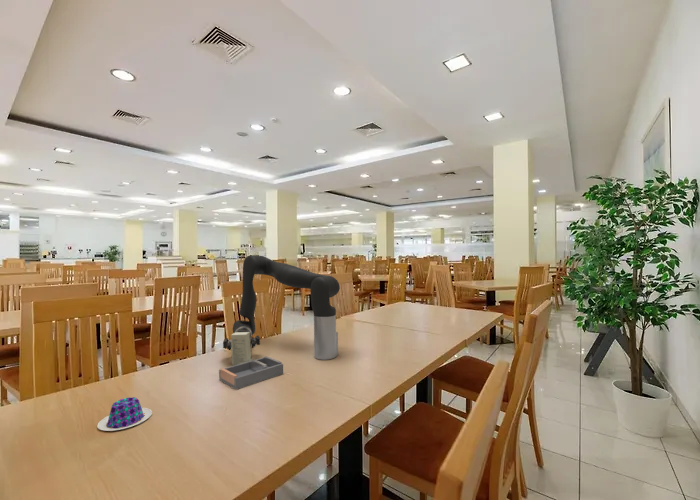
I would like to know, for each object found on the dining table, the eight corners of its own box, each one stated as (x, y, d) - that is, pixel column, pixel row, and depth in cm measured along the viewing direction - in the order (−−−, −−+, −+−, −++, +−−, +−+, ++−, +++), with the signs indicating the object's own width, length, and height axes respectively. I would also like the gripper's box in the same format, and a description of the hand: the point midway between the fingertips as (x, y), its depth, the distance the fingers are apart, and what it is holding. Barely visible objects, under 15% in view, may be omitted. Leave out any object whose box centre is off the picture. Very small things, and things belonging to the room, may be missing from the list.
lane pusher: (253, 367, 122) (253, 358, 122) (266, 373, 115) (266, 364, 115) (250, 368, 121) (250, 359, 121) (263, 374, 114) (263, 365, 114)
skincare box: (251, 362, 131) (251, 331, 131) (247, 366, 127) (246, 334, 127) (236, 362, 132) (235, 331, 132) (231, 366, 128) (230, 334, 128)
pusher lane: (265, 366, 127) (264, 355, 127) (283, 373, 118) (283, 362, 118) (219, 379, 114) (219, 368, 114) (236, 389, 105) (235, 377, 105)
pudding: (137, 406, 96) (136, 388, 96) (161, 416, 90) (161, 397, 90) (88, 426, 85) (87, 405, 85) (111, 438, 79) (111, 416, 79)
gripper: (225, 329, 143) (221, 338, 127) (259, 326, 147) (259, 335, 131) (225, 346, 143) (222, 358, 127) (259, 343, 147) (260, 354, 131)
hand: (241, 346), depth 129 cm, fingers open, 8 cm apart
